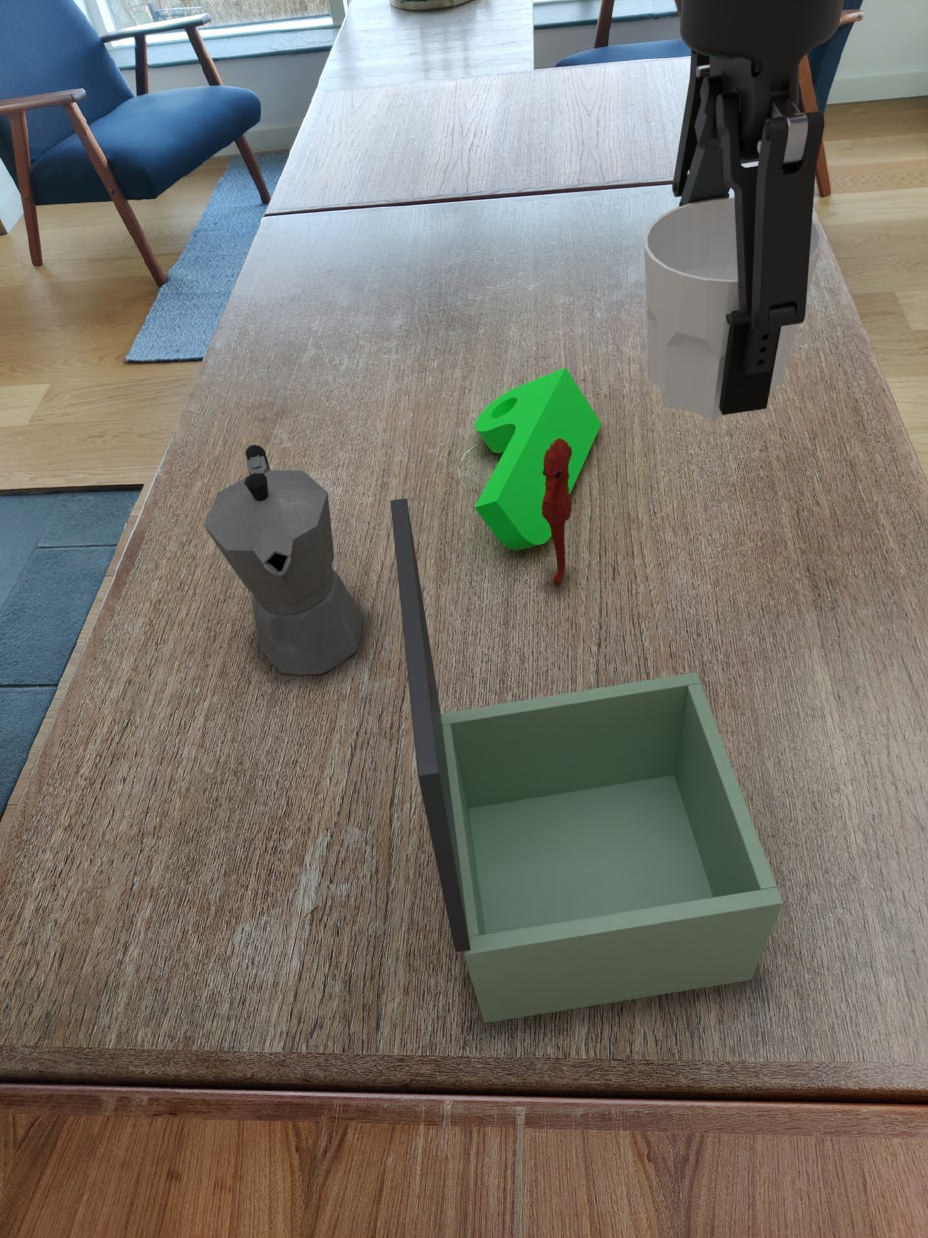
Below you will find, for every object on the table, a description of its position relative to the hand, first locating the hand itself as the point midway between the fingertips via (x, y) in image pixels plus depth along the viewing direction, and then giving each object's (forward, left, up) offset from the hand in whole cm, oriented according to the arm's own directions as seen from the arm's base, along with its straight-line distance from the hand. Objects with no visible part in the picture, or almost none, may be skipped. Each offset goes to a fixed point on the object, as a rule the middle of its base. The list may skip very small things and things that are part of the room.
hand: (717, 359), depth 58 cm
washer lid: (+4, +31, -2) cm, 32 cm away
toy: (+11, +2, -24) cm, 26 cm away
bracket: (+20, -8, -24) cm, 32 cm away
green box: (-2, +27, -24) cm, 36 cm away
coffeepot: (+29, +15, -24) cm, 40 cm away
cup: (0, 0, -2) cm, 2 cm away
